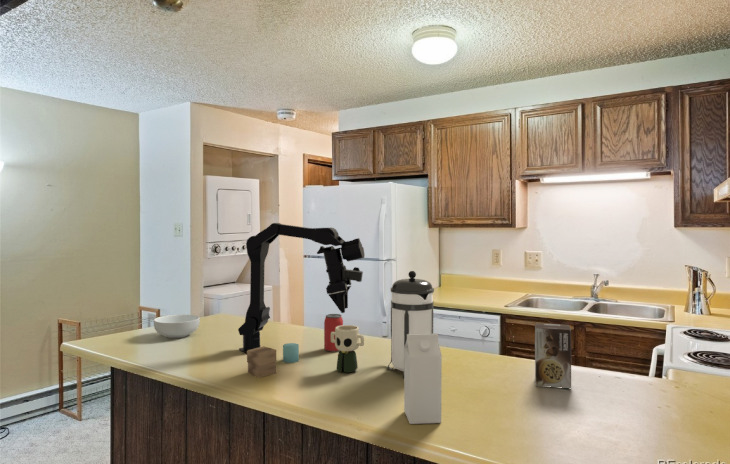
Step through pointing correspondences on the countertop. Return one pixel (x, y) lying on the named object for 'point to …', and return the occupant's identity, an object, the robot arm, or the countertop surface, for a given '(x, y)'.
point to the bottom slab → (262, 369)
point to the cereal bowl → (176, 325)
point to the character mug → (347, 346)
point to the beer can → (331, 330)
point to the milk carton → (422, 378)
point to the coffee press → (409, 314)
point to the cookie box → (552, 355)
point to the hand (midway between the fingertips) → (344, 310)
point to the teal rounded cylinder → (291, 352)
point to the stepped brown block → (261, 356)
